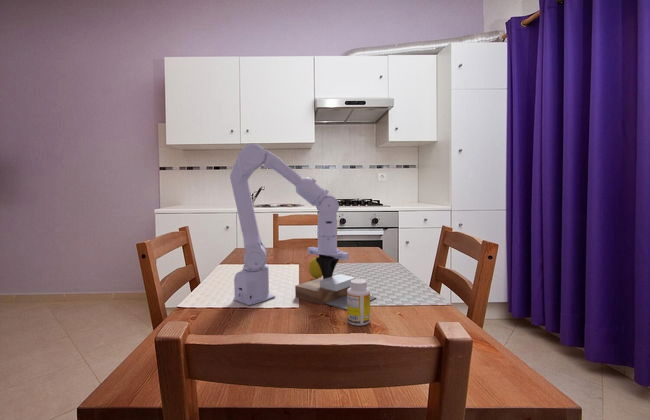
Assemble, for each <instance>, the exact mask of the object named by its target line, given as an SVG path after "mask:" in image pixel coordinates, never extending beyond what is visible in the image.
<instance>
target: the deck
mask: <svg viewBox="0 0 650 420" xmlns="http://www.w3.org/2000/svg"><path fill="white" fill-rule="evenodd" d="M335 275H336V274H335ZM335 275H334V274H333V275H332V276H335ZM320 280H323V276H322V277H320V278H318V279H312V280H309V281H306V282H302V283H299V284H295V287H294V290H295V292H294V293H295V298H296V297H297V298H296V299H300V300H304V301H306V302H307V301H308V302H310V303H313V304H317V305H319V306H321V305H325V304H326V303H327V302H329V301H332V300H334V299H337V298H340V297H342V296H345V295H347V290H348V288H350V286H349V287H347V288H344V289H341V290H338V291H333V290H329V289H325V288H321V287H320Z"/></svg>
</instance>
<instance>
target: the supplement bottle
mask: <svg viewBox="0 0 650 420" xmlns="http://www.w3.org/2000/svg"><path fill="white" fill-rule="evenodd" d="M370 296H371V290H370V288H369V287H368V282H367V280H366V279H364V278H363V279H362V278H355V279H353V280H351V281H350V288H348V290H347V310H346V318H347V319H346V320H347V322H348V324H350V325H352V326H360V327H362V326H367V325H368V324H369V323H370V322H371V301H370Z"/></svg>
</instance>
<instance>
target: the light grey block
mask: <svg viewBox="0 0 650 420" xmlns="http://www.w3.org/2000/svg"><path fill="white" fill-rule="evenodd" d="M353 279H356V277H354V276H351V275H350V276H349V275H346V274H342V273H339V274H335V276H332V277H329V278H326V279H323V280H320V287H321V288H325V289H329V290H333V291H338V290H341V289H344V288H347V287H349V286H350V281H351V280H353Z"/></svg>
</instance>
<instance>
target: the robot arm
mask: <svg viewBox="0 0 650 420" xmlns="http://www.w3.org/2000/svg"><path fill="white" fill-rule="evenodd" d="M262 165H263V168H265V169H268V170H273V171H275V172H276V173H277V174H279V175H281V176H282V177H283V178H284V179H285V180H287V181H288V182H290V183H291V184H292V185H294V186H295V193H296V194H297V195H298V196H300V198H302V199H304V200H305V201H306V202H307V203H309V204H310V205H311V206H312V207H315V208H316V210H317V212H318V213H317V215H318V216H317V217H318V218H317V247H315V246H311V247H307V254H308V255H315V256H317V257H318V258H316V261H317V263H318V265H319V267H320V269H321V272H322V275H323V276H322V277H323V279H326V278H329V277H332V275H334V271H335V269H336V266H337V263H338V262H339V261H340V260H341V261H344V262H345V261H349V260H350V253H349V252H345V251H343V250H340V249H339V248H338V219H337V217H338V215H337V213H338V211H339V209H340V205H339V202H338V199H336V197H334V196H333V195H331V194H329V190H328V189H324V188H323V187H321V186H320V185H319V184H318V183H316V182H317V180H316V179H315V178H314V177H313V178H311V177H307V176H306V177H302V176H301V175H300V174H298V173H297V172H296V171H295V170H293V169H292V167H290V166H289V165H288V164H286V163H285V162H284V161H283V160H282V159H281V158H280V157H278V156H277V155H276V154H274V153H272V152H270V151H269V150H267V149H264V148H263V146H261V145H260V144H257V143H249V144H246V145H245V146H243V148H242V149H241V150H240V151H239V152H238V153H237V157H236V160H235V163H234V164H233V166H232V169H231V172H230V176H229V178H230V183H231V187H232V192H233V196H234V202H235V207H236V210H237V216H238V219H239V223H240V230H241V233H242V234H241V235H242V238H243V247H244V255H243V263H244V265H243V266H242V270H240V271H239V272H236V273H235V275H234V279H233V281H234V282H233V283H234V284H233V285H234V286H233V288H234V290H233V291H234V297H233V299H232V300H234V301H237V302H240V303H242V304H244V305H248V306H252V305H254V304H258V303H261V302H265V301H267V300H271V299H274V298H276V295H275V294H272V293H270V287H269V286H270V281H269V278H270V277H269V275H270V274H269V273H270V272H269V270H270V269H269V265H268V264H267V261H268V260H267V258H268V257H267V256H268V255H267V253H268V252H267V248H266V246H265V245H264V244H263V242H262V238H261V235H260V230H259V227H258V221H257V218H256V217H257V216H256V214H255V213H256V212H255V208H254V204H253V199H252V194H251V189H250V185H249V179H250V178H251V176H252V175H253V174H254V171H256V170H257V169H258V168H260V167H262Z"/></svg>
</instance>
